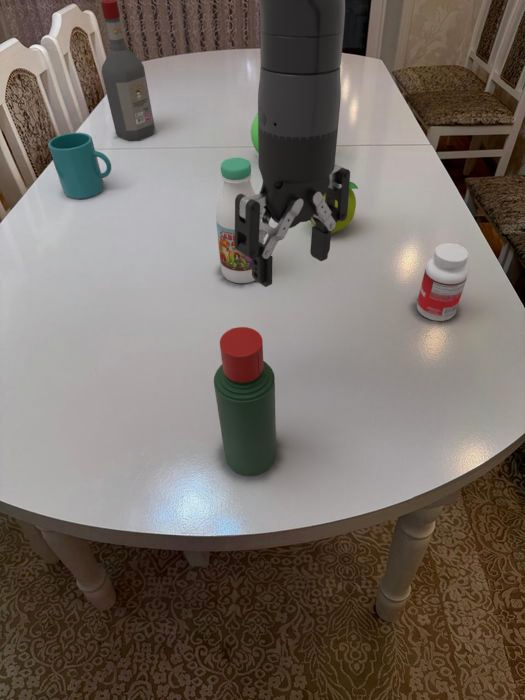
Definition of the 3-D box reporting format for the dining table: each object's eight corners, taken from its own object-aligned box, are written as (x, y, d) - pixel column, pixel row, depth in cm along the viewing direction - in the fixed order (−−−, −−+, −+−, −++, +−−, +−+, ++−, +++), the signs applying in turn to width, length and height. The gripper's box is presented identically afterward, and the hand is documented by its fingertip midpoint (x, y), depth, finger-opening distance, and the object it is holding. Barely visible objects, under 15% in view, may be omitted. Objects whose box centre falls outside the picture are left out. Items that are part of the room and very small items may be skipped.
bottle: (286, 448, 62) (287, 339, 49) (254, 485, 59) (246, 378, 45) (246, 424, 65) (237, 314, 52) (214, 457, 62) (194, 349, 48)
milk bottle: (220, 261, 91) (209, 154, 77) (262, 257, 92) (258, 150, 78) (222, 286, 86) (210, 176, 72) (266, 282, 86) (263, 172, 72)
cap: (272, 364, 51) (271, 338, 48) (246, 389, 49) (244, 363, 46) (240, 347, 53) (238, 321, 50) (214, 370, 51) (210, 344, 48)
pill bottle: (421, 293, 83) (435, 236, 75) (458, 303, 81) (477, 245, 73) (411, 316, 79) (425, 258, 71) (450, 326, 77) (469, 268, 69)
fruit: (351, 243, 94) (357, 194, 87) (303, 239, 96) (304, 191, 89) (355, 218, 101) (360, 171, 94) (309, 215, 102) (311, 168, 95)
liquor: (159, 132, 135) (137, 0, 114) (133, 143, 131) (104, 7, 110) (138, 124, 140) (113, -4, 119) (112, 135, 135) (80, 3, 114)
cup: (112, 199, 109) (98, 149, 101) (58, 200, 110) (41, 149, 102) (122, 180, 116) (110, 131, 108) (71, 181, 116) (56, 132, 108)
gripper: (265, 148, 41) (265, 308, 51) (379, 115, 48) (358, 262, 58) (212, 126, 45) (222, 278, 56) (323, 98, 52) (314, 238, 63)
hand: (292, 270), depth 57 cm, fingers open, 8 cm apart
